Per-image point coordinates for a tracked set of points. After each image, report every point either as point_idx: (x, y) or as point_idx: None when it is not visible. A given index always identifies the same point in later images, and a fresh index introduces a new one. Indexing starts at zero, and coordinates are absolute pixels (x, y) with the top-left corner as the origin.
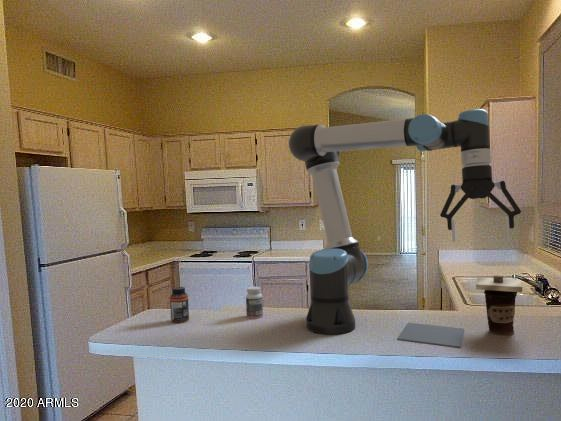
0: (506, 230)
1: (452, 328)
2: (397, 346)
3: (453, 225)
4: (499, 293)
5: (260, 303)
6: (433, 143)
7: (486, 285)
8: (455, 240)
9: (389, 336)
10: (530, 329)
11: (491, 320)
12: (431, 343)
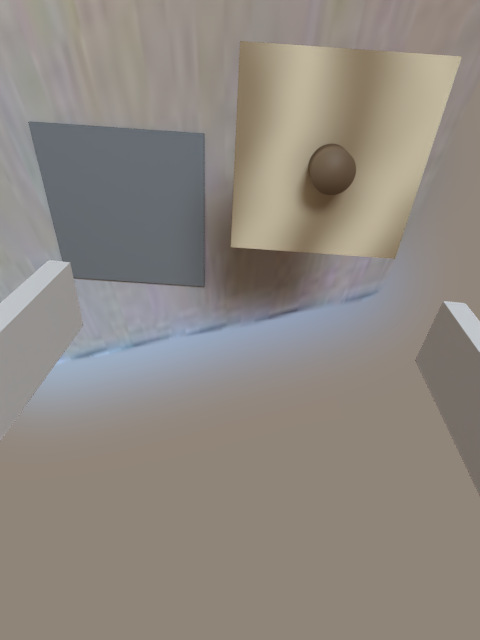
0: (445, 420)
1: (170, 146)
2: (86, 312)
3: (4, 421)
4: None
5: None
6: None
7: (269, 248)
8: (78, 325)
9: (42, 259)
10: (413, 50)
11: None
12: (143, 281)
